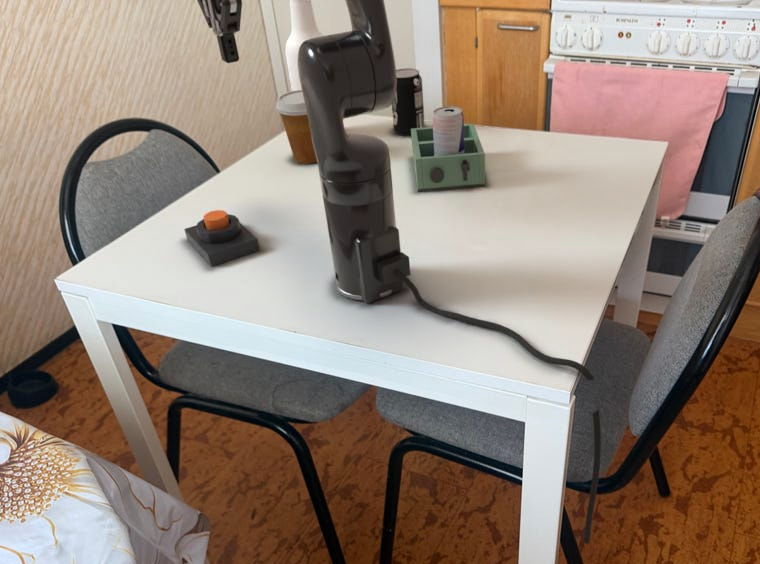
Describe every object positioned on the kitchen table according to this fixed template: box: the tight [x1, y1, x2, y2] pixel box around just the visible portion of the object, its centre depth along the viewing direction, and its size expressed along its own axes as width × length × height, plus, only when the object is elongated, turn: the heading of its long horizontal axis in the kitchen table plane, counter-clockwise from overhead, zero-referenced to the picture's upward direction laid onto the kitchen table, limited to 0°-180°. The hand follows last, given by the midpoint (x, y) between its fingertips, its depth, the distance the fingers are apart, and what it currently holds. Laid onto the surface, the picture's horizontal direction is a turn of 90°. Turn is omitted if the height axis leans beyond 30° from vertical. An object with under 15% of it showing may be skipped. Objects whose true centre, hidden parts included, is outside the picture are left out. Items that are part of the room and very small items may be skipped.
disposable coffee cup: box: [275, 90, 317, 165], centre depth 135 cm, size 10×10×12 cm
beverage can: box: [391, 67, 426, 137], centre depth 144 cm, size 7×7×12 cm
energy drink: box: [431, 105, 465, 156], centre depth 123 cm, size 5×5×12 cm
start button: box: [202, 209, 229, 230], centre depth 109 cm, size 4×4×2 cm
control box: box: [184, 213, 261, 268], centre depth 110 cm, size 11×8×4 cm
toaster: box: [410, 123, 486, 193], centre depth 127 cm, size 12×17×6 cm
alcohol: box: [284, 0, 324, 91], centre depth 139 cm, size 9×9×30 cm
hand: (231, 61), depth 105 cm, fingers closed
